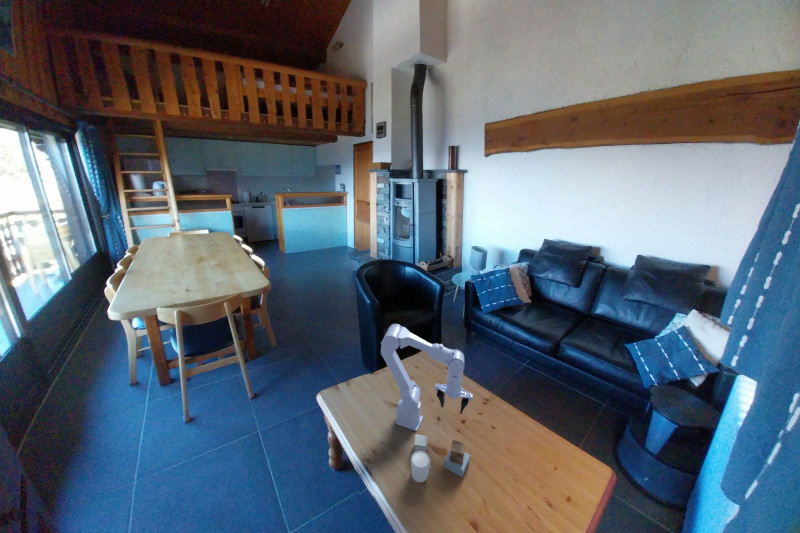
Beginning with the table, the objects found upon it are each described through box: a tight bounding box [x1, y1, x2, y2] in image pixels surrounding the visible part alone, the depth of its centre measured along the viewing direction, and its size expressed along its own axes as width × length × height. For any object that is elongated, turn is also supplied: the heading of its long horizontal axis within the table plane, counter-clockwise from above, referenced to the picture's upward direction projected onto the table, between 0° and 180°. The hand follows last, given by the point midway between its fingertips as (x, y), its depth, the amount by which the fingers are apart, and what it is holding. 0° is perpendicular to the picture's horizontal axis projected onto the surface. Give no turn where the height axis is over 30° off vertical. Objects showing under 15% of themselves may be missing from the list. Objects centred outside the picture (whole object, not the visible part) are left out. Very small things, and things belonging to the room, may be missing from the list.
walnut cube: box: [450, 439, 466, 465], centre depth 107 cm, size 4×4×5 cm
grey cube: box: [413, 434, 428, 454], centre depth 113 cm, size 4×4×5 cm
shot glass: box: [410, 451, 432, 483], centre depth 104 cm, size 7×7×7 cm
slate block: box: [443, 448, 471, 478], centre depth 108 cm, size 7×7×4 cm
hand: (451, 408), depth 120 cm, fingers open, 7 cm apart
